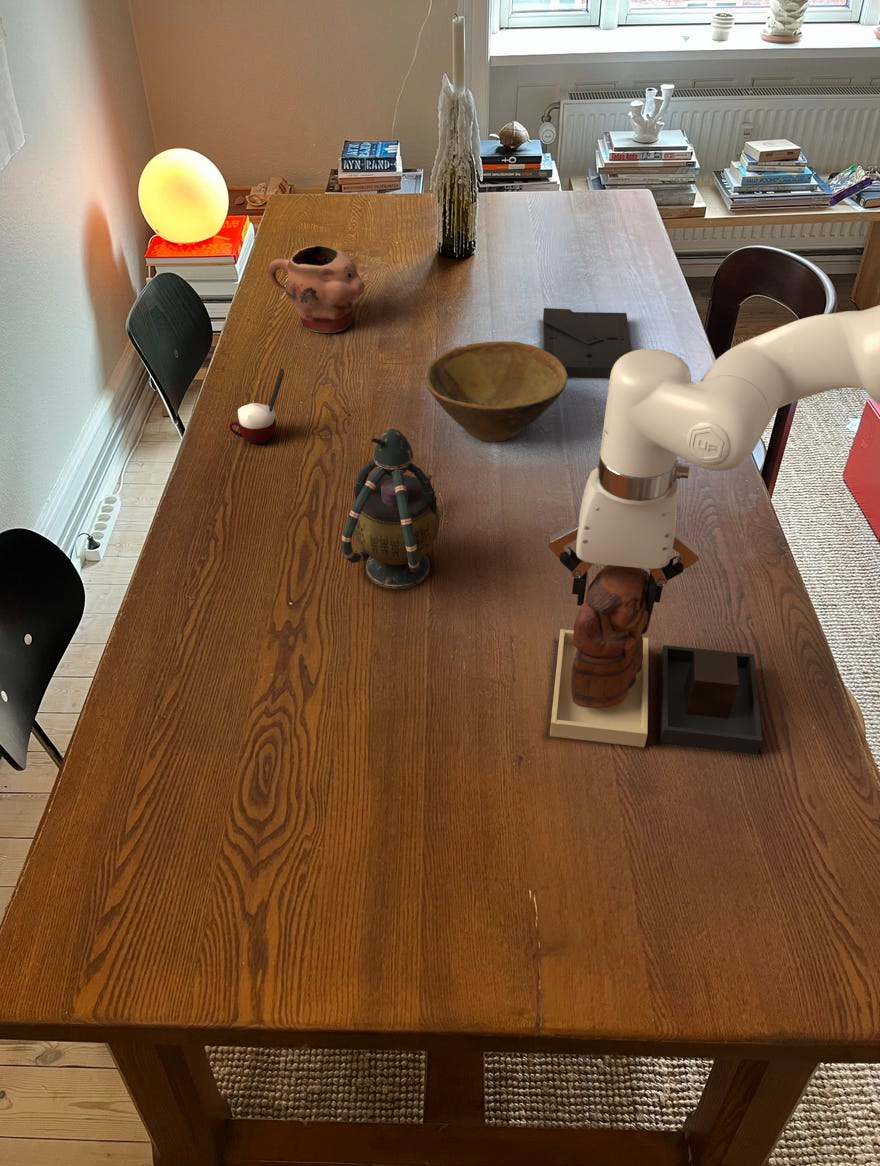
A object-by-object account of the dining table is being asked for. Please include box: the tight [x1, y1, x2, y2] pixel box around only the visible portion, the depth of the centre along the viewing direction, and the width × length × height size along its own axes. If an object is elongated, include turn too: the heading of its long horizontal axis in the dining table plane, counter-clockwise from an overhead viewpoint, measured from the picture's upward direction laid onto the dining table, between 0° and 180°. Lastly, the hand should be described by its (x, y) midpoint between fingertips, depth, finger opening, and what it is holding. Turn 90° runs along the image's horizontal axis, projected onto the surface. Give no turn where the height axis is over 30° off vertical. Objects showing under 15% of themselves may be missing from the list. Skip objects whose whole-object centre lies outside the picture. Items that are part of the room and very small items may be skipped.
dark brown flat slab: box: [542, 307, 633, 379], centre depth 185 cm, size 16×3×21 cm
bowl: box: [424, 340, 569, 443], centre depth 165 cm, size 22×23×10 cm
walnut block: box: [685, 651, 739, 718], centre depth 121 cm, size 5×5×6 cm
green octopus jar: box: [340, 427, 441, 590], centre depth 138 cm, size 12×25×23 cm, turn 165°
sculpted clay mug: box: [267, 245, 366, 334], centre depth 192 cm, size 20×12×14 cm, turn 73°
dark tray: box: [659, 644, 763, 755], centre depth 122 cm, size 11×14×2 cm
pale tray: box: [549, 628, 649, 748], centre depth 124 cm, size 11×16×2 cm
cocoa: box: [229, 368, 285, 445], centre depth 164 cm, size 10×6×12 cm, turn 78°
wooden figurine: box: [571, 565, 652, 709], centre depth 117 cm, size 12×6×18 cm, turn 145°
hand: (614, 600), depth 114 cm, fingers closed on wooden figurine, 7 cm apart
